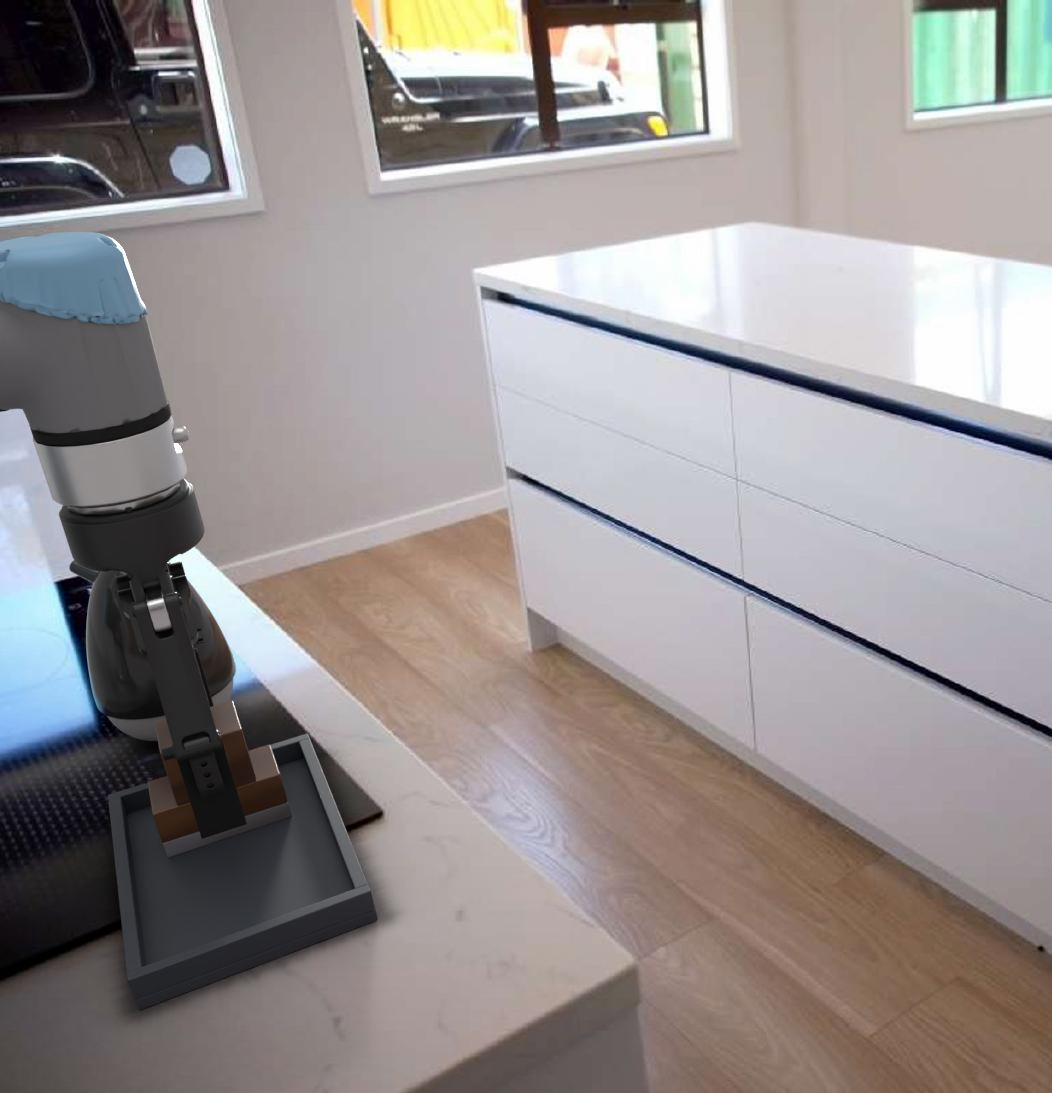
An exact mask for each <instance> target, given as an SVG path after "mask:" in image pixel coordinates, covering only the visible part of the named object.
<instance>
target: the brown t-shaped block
mask: <svg viewBox="0 0 1052 1093" xmlns="http://www.w3.org/2000/svg"><path fill="white" fill-rule="evenodd" d="M210 709H211V712H212V716H213V719H214V723H215V726H216V730H218V731H220V734H221V737H222V741H223V744H224V747H225V751H226V754H227V758H228V761H229V765H230V768H231V771H232V775H233V778H234V782H235V785H236V788H237V792H238V795H239V799H240V802H241V805H242V809H243V812H244V816H245V819H246V823H247V824H246V825H243V826H240V827H237V828H234V829H231V830H228V831H225V832H222V833H219V834H216V835H213V836H210V837H206V838H203V839H202V838H201V835H200V832H199V828H198V825H197V822H196V819H195V816H194V813H193V809H192V806H191V803H190V800H189V797H188V793H187V790H186V787H185V784H184V781H183V778H182V774H181V771H180V768H179V765H178V762H177V759H176V758H173V759H169V760H166V761H165V760H164V757H163V754H162V751H161V749H165V748H168V747H172V744H173V742H172V738H171V735H170V731H169V728H168V725H167V721H166V720H164V721H160V722H157V723H155V728H156V734H157V739H158V741H157V744H158V749H159V750H158V751H159V755H160V758H161V761H162V764H163V767H164V770H165V773H166V776H161V777H159V778H155V779H152V780H149V781H147V783H148V788H149V794H150V801H151V807H152V813H153V817H154V820H155V823H156V826H157V829H158V832H159V835H160V838H161V841H162V843H163V847H164V850H165V853H166V856H167V857H168V858H169V857H172V856H175V855H178V854H181V853H184V852H187V851H190V850H193V849H196V848H199V847H202V846H205V845H208V844H211V843H214V842H217V841H220V840H223V839H226V838H229V837H232V836H235V835H238V834H241V833H244V832H247V831H250V830H253V829H256V828H259V827H262V826H265V825H268V824H271V823H274V822H277V821H280V820H283V819H286V818H289V817H291V816H292V814H291V810H290V807H289V803H288V800H287V796H286V793H285V789H284V785H283V782H282V778H281V775H280V772H279V769H278V766H277V763H276V760H275V757H274V754H273V751H272V748H271V745H272V744H267V745H263V746H260V747H257V748H253V749H250V750H249V748H248V745H247V742H246V739H245V735H244V731H243V727H242V725H241V722H240V718H239V715H238V711H237V708H236V705H235V702H234V700H229V702H226V703H223V704H219V705H216V706H212V707H210Z"/></svg>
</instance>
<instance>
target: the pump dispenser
mask: <svg viewBox="0 0 1052 1093" xmlns="http://www.w3.org/2000/svg"><path fill="white" fill-rule="evenodd" d="M169 564H172V563H171V562H170V561H169ZM68 567H69V571H70V572H71V573H72V574H75V575H76V576H77V577H80V578H82V579H84V580H86V581H88V582H90V583H92V586H91V589H90V593H89V599H88V605H87V616H86V630H85V636H86V637H85V644H86V645H85V646H86V647H85V648H86V660H87V668H88V669H87V670H88V675H89V676H88V677H89V680H90V687H91V691H92V695H93V699H94V702H95V705H96V708H97V709H98V711H99V712H100V713H102V714H103V715H104V716H106V717H107V718H108V720H109V721H110V723H112V725H114V726H115V727H116V728H117V729H118V730H120V731H121V732H122V733H124V734H126V735H127V736H130V737H132V738H134V739H138V740H141V741H148V742H158V739H157V734H156V728H155V723H157V722H160V721H164V720H166V718H165V714H164V711H163V707H162V704H161V700H160V697H159V694H158V690H157V687H156V683H155V680H154V676H153V673H152V669H151V666H150V663H149V659H148V656H146V655H143V654H142V653H141V652H140V650H139V648H138V646H137V643H136V640H135V636H134V632H133V629H132V625H131V622H130V619H129V618H127V617H126V615H125V614H124V612H123V609H122V607H121V603H120V599H119V596H118V591H119V590H118V587H117V583H116V579H115V577H116V576H121V575H125V574H127V573H125V572H121V571H112V570H109V571H107V572H103V571H94V570H89V569H86V568H84V567H82V566H80V565H78V564H77V563H76V562H75V561H74V560H72V561H71V562H70V564H69V566H68ZM187 581H188V585H189V588H190V592H191V595H192V602H191V604H190V607H191V611H192V614H193V618H194V621H195V625H196V628H199V627H201V631H202V634H203V638H204V641H205V642H204V643H200V644H196V645H193V649H194V648H197V650H198V654H199V657H200V660H201V664H202V667H203V671H204V674H205V678H206V681H207V684H208V688H209V691H210V695H211V698H212V701H213V705H214V706H216V705H219V704H223V703H226V702H230V701H231V697H232V694H233V690H234V678H235V676H236V672H237V665H236V662H235V658H234V655H233V652H232V650H231V647H230V645H229V643H228V641H227V638H226V636H225V635H224V633H223V631H222V629H221V627H220V625H219V623H218V621H217V620H216V617H215V616H214V615H213V613H212V611H211V610H210V608H209V607H208V605H207V604H206V602H205V600H204V599H203V598H202V596H201V595H200V593H199V592H198V591H197V590H196V588H195V587H194V586H193V585H192V583H191V582H190V581H189V580H188V579H187Z"/></svg>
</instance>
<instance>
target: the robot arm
mask: <svg viewBox="0 0 1052 1093" xmlns="http://www.w3.org/2000/svg"><path fill="white" fill-rule="evenodd" d="M138 290H139V289H138V287H137V284H136V281H135V278H134V275H133V272H132V269H131V266H130V263H129V260H128V258H127V255H126V252H125V250H124V248H123V247H122V246H121V245H120V243H119V242H118V241H116V240H115V239H114V238H113V237H110V236H108V235H106V234H103V233H99V232H94V231H66V232H54V233H53V232H52V233H51V232H50V233H45V234H42V235H35V236H22V237H16V238H11V239H6V240H2V241H0V413H3V412H8V411H10V410H11V411H12V410H22V411H23V413H24V415H25V418H26V421H27V422H28V426H29V428H30V431H31V435H32V442H33V445H34V448H35V451H36V454H37V457H38V460H39V463H40V466H41V468H42V472H43V475H44V478H45V481H46V484H47V487H48V490H49V493H50V496H51V498H52V500H53V501H54V502H55V503H57V504H59V505H61V509H60V510H59V512H58V517H59V520H60V523H61V526H62V529H63V533H64V535H65V538H66V541H67V545H68V547H69V550H70V554H71V556H72V559H73V561H75V562H76V563H77V564H78V565H80V566H82V567H84V568H86V569H89V570H94V571H103V572H107V571H109V570H112V571H121V572H125V573H127V574H125V575H121V576H116V577H115V579H116V583H117V587H118V590H119V591H118V596H119V599H120V603H121V607H122V609H123V612H124V614H125V615H126V617H127V618H129V619H130V622H131V625H132V629H133V632H134V636H135V640H136V643H137V646H138V648H139V650H140V652H141V653H142V654H143V655H146V656H148V659H149V663H150V666H151V669H152V673H153V676H154V680H155V683H156V687H157V690H158V694H159V697H160V700H161V704H162V707H163V711H164V714H165V718H166V721H167V725H168V728H169V731H170V735H171V738H172V742H173V744H172V747H168V748H165V749H161V751H162V754H163V757H164V760H165V761H166V760H169V759H173V758H176V759H177V762H178V765H179V768H180V771H181V774H182V778H183V781H184V784H185V787H186V790H187V793H188V797H189V800H190V803H191V806H192V809H193V813H194V816H195V819H196V822H197V825H198V828H199V832H200V835H201V838H202V839H203V838H206V837H210V836H213V835H216V834H219V833H222V832H225V831H228V830H231V829H234V828H237V827H240V826H243V825H246V824H247V823H246V819H245V816H244V812H243V809H242V805H241V802H240V799H239V795H238V792H237V788H236V785H235V782H234V778H233V775H232V771H231V768H230V765H229V761H228V758H227V754H226V751H225V747H224V744H223V741H222V737H221V734H220V731H218V730H216V726H215V723H214V719H213V716H212V712H211V709H210V707H212V706H214V705H213V701H212V698H211V695H210V691H209V688H208V684H207V681H206V678H205V674H204V671H203V667H202V664H201V660H200V657H199V654H198V650H197V648H194V649H193V645H196V644H200V643H204V642H205V641H204V638H203V634H202V631H201V627H199V628H196V625H195V621H194V618H193V614H192V611H191V607H190V604H191V602H192V595H191V592H190V588H189V585H188V581H189V580H188V579H187V578H188V577H187V574H186V572H185V569H184V564H183V562H182V560H181V561H177V562H172V563H171V564H169V562H170V561H171V560H172V559H174V558H175V557H178V555H184V554H185V553H187V552H189V551H191V550H192V549H193V548H194V547H196V546H197V545H198V544H199V543H200V542H201V541H202V539H203V537H204V535H205V525H204V520H203V518H202V514H201V511H200V510H201V509H200V507H199V503H198V499H197V496H196V492H195V488H194V486H193V484H192V483H191V482H189V481H187V480H186V479H185V477H186V476H187V473H188V469H187V468H188V467H187V463H186V460H185V456H184V453H183V449H182V448H181V445H179V444H181V443H185V442H187V441H189V439H190V438H191V435H190V432H189V430H188V429H187V427H186V426H180V425H179V426H177V427H175V426H174V425H175V421H174V418H173V416H172V409H171V405H170V401H169V399H168V395H167V392H166V387H165V383H164V379H163V376H162V372H161V368H160V365H159V360H158V356H157V352H156V349H155V344H154V340H153V336H152V333H151V328H150V324H149V321H148V316H147V315H148V310H147V306H146V305H145V302H144V301H143V300H142V298H141V295H140V293H139V291H138ZM187 580H188V581H187Z"/></svg>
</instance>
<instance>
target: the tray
mask: <svg viewBox="0 0 1052 1093" xmlns="http://www.w3.org/2000/svg"><path fill="white" fill-rule="evenodd" d="M270 745H271V748H272V751H273V754H274V757H275V760H276V763H277V766H278V769H279V772H280V775H281V778H282V782H283V785H284V789H285V793H286V796H287V800H288V803H289V807H290V810H291V814H292V816H291V817H289V818H286V819H283V820H280V821H277V822H274V823H271V824H268V825H265V826H262V827H259V828H256V829H253V830H250V831H247V832H244V833H241V834H238V835H235V836H232V837H229V838H226V839H223V840H220V841H217V842H214V843H211V844H208V845H205V846H202V847H199V848H196V849H193V850H190V851H187V852H184V853H181V854H178V855H175V856H172V857H169V858H168V857H167V856H166V853H165V850H164V847H163V843H162V841H161V838H160V835H159V832H158V829H157V826H156V823H155V820H154V817H153V813H152V807H151V801H150V794H149V788H148V782H146V783H141V784H139V785H135V786H133V787H129V788H126V789H122V790H119V791H116V792H112V793H109V794H108V795H107V802H108V810H109V819H110V821H109V822H110V829H111V830H110V831H111V838H112V847H113V858H114V865H115V877H116V884H117V885H116V886H117V895H118V903H119V913H120V923H121V931H122V941H123V951H124V960H125V968H126V970H125V971H126V978H127V980H126V981H127V983H128V985H129V988H130V991H131V994H132V996H133V999H134V1002H135V1004H136V1007H137V1009H138V1011H142V1010H143V1009H146V1008H150V1007H152V1006H154V1005H155V1006H156V1005H157V1004H160V1003H162V1002H164V1001H168V1000H170V999H173V998H176V997H178V996H180V995H183V994H186V993H189V992H191V991H194V990H196V989H199V988H202V987H205V986H207V985H211V984H213V983H215V982H218V981H221V980H222V979H226V978H228V977H231V976H233V975H236V974H239V973H242V972H245V971H247V970H249V969H252V968H254V967H258V966H260V965H262V964H265V963H268V962H270V961H273V960H276V959H278V958H281V957H285V956H286V955H289V954H291V953H294V952H296V951H299V950H303V949H304V948H307V947H310V946H313V945H315V944H318V943H321V942H323V941H326V940H328V939H331V938H333V937H336V936H338V935H342V934H344V933H347V932H349V931H352V930H354V929H357V928H360V927H362V926H365V925H368V924H370V923H373V922H376V921H378V920H379V917H378V914H377V910H376V906H375V902H374V899H373V898H374V897H373V895H372V894H373V893H372V891H371V888H370V886H369V882H368V881H367V880H368V879H367V878H366V875H365V873H364V871H363V868H362V866H361V863H360V860H359V858H358V856H357V852H356V850H355V848H354V846H353V843H352V840H351V838H350V834H348V830H347V828H346V826H345V823H344V821H343V818H342V816H341V812H340V810H339V807H338V805H337V803H336V801H335V798H334V796H333V793H332V790H331V788H330V785H329V784H328V781H327V778H326V775H325V773H324V771H323V767H322V765H321V762H320V760H319V757H318V755H317V753H316V751H315V747H314V744H313V743H312V741H311V737H310V735H309V733H304V734H301V735H299V736H295V737H292V738H288V739H285V740H282V741H278V742H276V743H272V744H270Z"/></svg>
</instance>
